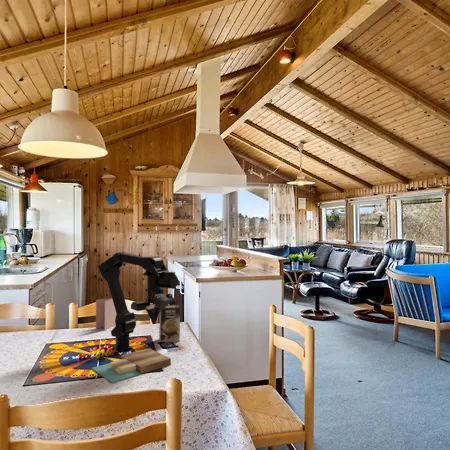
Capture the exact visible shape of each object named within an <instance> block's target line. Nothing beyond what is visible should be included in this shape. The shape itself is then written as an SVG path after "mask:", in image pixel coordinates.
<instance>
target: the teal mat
mask: <svg viewBox="0 0 450 450" xmlns="http://www.w3.org/2000/svg"><path fill="white" fill-rule="evenodd" d="M91 370H93V371H94V372H95V373H97V374H99V375H100V376H101V377H102V378H104V379H105V380H107V381H108V382H109V383H111V384H114V383H117V382H121V381H125V380H128V379H131V378H134V377H137V376H141V374H140V373H139V372H137V371H132V372H129V373H126V374H122V375H121V374H119V373H118V372H116V371H115V370H113V369H112V368H110V362H109V363H105V364H102V365H97V366H94V367H93V366H92V367H91Z"/></svg>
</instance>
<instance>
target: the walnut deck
mask: <svg viewBox="0 0 450 450" xmlns="http://www.w3.org/2000/svg"><path fill="white" fill-rule="evenodd" d="M121 359H126V360H128V361H130V362H132V363H134V364H135V365H136V371H137V372H139V373H140V375H143V374H145V373H149V372H153V371H155V370H159V369H161V368H166V367H168V366H171V364H172V363H171V362H172V361H171V360H172V359H171V357H168V356H166V355H164V354H162V353H159V352H158V351H156V350H154V349H152V348H149V347H148V348H145V349H141V350H137V351H133V352H129V353H125V354H121V355H120V360H121Z"/></svg>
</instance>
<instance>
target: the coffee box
mask: <svg viewBox="0 0 450 450" xmlns="http://www.w3.org/2000/svg"><path fill="white" fill-rule="evenodd" d="M180 333H181V306H180V305H179V304H176V305H169V304H168V306H167V307H165V308H164V309H162V310H161V311H160V313H159V335H158V337H159V342H165V343H176V342H180V341H181V340H180V338H181V337H180V335H181V334H180Z"/></svg>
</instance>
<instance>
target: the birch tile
mask: <svg viewBox="0 0 450 450" xmlns="http://www.w3.org/2000/svg"><path fill="white" fill-rule="evenodd" d="M109 363H110V368H112V369H113V370H115V371H116V372H118V373H119V374H121V375H122V374H126V373H129V372H132V371H136V365H135V364H134V363H132V362H130V361H128V360H126V359H121V358H120V359H118V360H113V361H110V362H109Z"/></svg>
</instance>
